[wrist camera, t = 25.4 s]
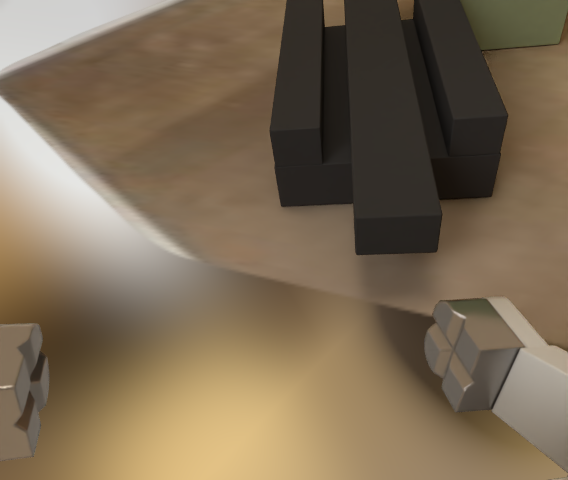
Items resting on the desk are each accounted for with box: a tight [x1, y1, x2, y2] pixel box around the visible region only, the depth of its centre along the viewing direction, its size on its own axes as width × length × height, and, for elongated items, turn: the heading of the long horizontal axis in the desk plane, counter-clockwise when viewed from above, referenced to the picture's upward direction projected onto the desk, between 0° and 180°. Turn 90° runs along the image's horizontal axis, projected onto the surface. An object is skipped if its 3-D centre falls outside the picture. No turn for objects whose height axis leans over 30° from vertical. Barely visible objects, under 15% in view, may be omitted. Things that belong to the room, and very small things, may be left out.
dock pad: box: [270, 0, 508, 206], centre depth 28 cm, size 10×14×4 cm
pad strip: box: [344, 0, 442, 255], centre depth 27 cm, size 3×24×2 cm, turn 177°
